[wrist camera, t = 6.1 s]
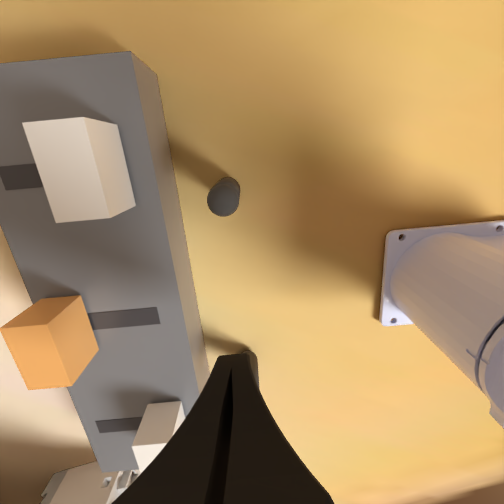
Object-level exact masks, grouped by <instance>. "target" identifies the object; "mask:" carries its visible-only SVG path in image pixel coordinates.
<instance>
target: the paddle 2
mask: <svg viewBox="0 0 504 504" xmlns="http://www.w3.org/2000/svg"><path fill="white" fill-rule="evenodd" d="M184 419H185V415H184V410H183V406H182V402H181V401H176V402H165V403H154V404H148V405H147V408H146V410H145V413H144V415H143V418H142V421H141V423H140V426H139V428H138V431H137V434H136V436H135V439H134V441H133V444H132V449H133V452H134V455H135V458H136V461H137V464H138V467H139V470H140V472H141V473H142V472H143V471H144V470H145V468H146V467H147V466H148V465H149V464H150V463H151V462H152V461H153V460H154V459H155V457H156V456H157V455H158V454H159V453H160V451H161V450H162V449H163V448H164V446H165V445H166V444H167V443H168V441H169V440H170V439H171V437H172V436H173V435H174V433H175V432H176V431H177V429H178V428H179V427H180V425H181V424H182V422H183V421H184Z"/></svg>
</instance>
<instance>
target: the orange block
mask: <svg viewBox="0 0 504 504" xmlns="http://www.w3.org/2000/svg"><path fill="white" fill-rule="evenodd" d="M0 331H1V333H2V335H3V338H4V340H5V342H6V344H7V346H8V348H9V350H10V352H11V354H12V356H13V359H14V361H15V363H16V365H17V367H18V369H19V371H20V373H21V375H22V378H23V380H24V382H25V384H26V386H27V388H28V390H35V389H46V388H57V387H68V386H72V385H73V384H74V383H75V381H76V380H77V379H78V377H79V376H80V375H81V373H82V372H83V370H84V369H85V368H86V366H87V365H88V364H89V362H90V361H91V360H92V358H93V357H94V356H95V354H96V353H97V352H98V350H99V348H98V345H97V342H96V339H95V336H94V333H93V330H92V327H91V324H90V321H89V318H88V315H87V312H86V309H85V306H84V303H83V300H82V297H81V295H77V296H66V297H56V298H45V299H40V300H39V301H37V302H36V303H35V304H33V305H32V306H30V307H29V308H28V309H26V310H25V311H23V312H22V313H21V314H19V315H18V316H16V317H15V318H14V319H12V320H11V321H9V322H8V323H7V324H5V325H4V326H2V327H1V328H0Z"/></svg>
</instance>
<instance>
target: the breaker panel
mask: <svg viewBox="0 0 504 504" xmlns="http://www.w3.org/2000/svg"><path fill="white" fill-rule="evenodd" d="M77 117H86V118H90V119H95V120H99V121H103V122H108V123H112V124H116V125H117V126H118V130H119V135H120V139H121V143H122V148H123V152H124V156H125V161H126V165H127V169H128V173H129V178H130V182H131V186H132V191H133V195H134V199H135V204H136V206H134V207H132V208H130V209H128V210H126V211H124V212H122V213H120V214H118V215H116V216H114V217H112V218H105V219H95V220H84V221H73V222H62V223H56V222H55V219H54V216H53V213H52V210H51V207H50V204H49V201H48V198H47V195H46V192H45V189H44V186H43V183H42V180H41V178H40V175H39V172H38V169H37V166H36V163H35V160H34V157H33V154H32V151H31V148H30V145H29V142H28V139H27V136H26V133H25V130H24V127H23V124H22V123H24V122H35V121H46V120H56V119H67V118H77ZM0 225H1V228H2V230H3V232H4V235H5V237H6V240H7V242H8V245H9V247H10V249H11V252H12V254H13V257H14V259H15V262H16V264H17V266H18V269H19V271H20V274H21V276H22V279H23V281H24V284H25V286H26V288H27V291H28V293H29V296H30V298H31V301H32V303H33V304H35V303H36V302H37V301H39V300H40V299H45V298H56V297H66V296H77V295H81V297H82V300H83V303H84V306H85V309H86V312H87V315H88V318H89V321H90V324H91V327H92V330H93V333H94V336H95V339H96V342H97V345H98V348H99V350H98V352H97V353H96V354H95V356H94V357H93V358H92V360H91V361H90V362H89V364H88V365H87V366H86V368H85V369H84V370H83V372H82V373H81V375H80V376H79V377H78V379H77V380H76V381H75V383H74V384H73V385H72V386H68V387H67V388H68V391H69V393H70V396H71V398H72V400H73V403H74V405H75V408H76V410H77V413H78V415H79V418H80V420H81V422H82V425H83V427H84V430H85V432H86V435H87V437H88V439H89V442H90V444H91V447H92V449H93V452H94V454H95V456H96V459H97V461H98V464H99V466H100V469H101V471H102V473H104V472H116V471H127V470H138V469H139V467H138V464H137V461H136V458H135V455H134V452H133V449H132V444H133V441H134V439H135V436H136V434H137V431H138V428H139V426H140V423H141V421H142V418H143V415H144V413H145V410H146V408H147V405H148V404H154V403H165V402H176V401H181V402H182V406H183V410H184V415H185V418H186V416H187V415H188V413H189V412H190V410H191V408H192V407H193V405H194V404H195V402H196V400H197V399H198V397H199V395H200V393H201V392H202V390H203V388H204V386H205V384H206V382H207V380H208V378H209V376H210V372H209V366H208V361H207V355H206V350H205V344H204V338H203V333H202V327H201V321H200V316H199V310H198V305H197V299H196V293H195V288H194V282H193V276H192V271H191V265H190V260H189V254H188V248H187V243H186V237H185V231H184V226H183V220H182V214H181V209H180V203H179V198H178V192H177V186H176V181H175V175H174V169H173V164H172V158H171V153H170V147H169V141H168V136H167V130H166V124H165V119H164V113H163V108H162V102H161V96H160V91H159V85H158V79H157V75H156V74H155V73H154V72H153V71H152V70H151V69H150V68H149V67H148V66H146V65H145V64H144V63H143V62H142V61H141V60H140V59H139V58H138V57H137V56H135V55H134V54H133V53H132V52H131V51H126V52H116V53H105V54H95V55H84V56H74V57H63V58H53V59H42V60H32V61H21V62H11V63H0Z"/></svg>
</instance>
